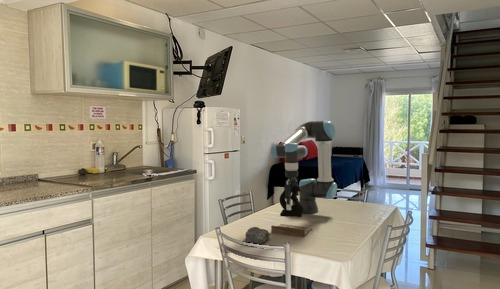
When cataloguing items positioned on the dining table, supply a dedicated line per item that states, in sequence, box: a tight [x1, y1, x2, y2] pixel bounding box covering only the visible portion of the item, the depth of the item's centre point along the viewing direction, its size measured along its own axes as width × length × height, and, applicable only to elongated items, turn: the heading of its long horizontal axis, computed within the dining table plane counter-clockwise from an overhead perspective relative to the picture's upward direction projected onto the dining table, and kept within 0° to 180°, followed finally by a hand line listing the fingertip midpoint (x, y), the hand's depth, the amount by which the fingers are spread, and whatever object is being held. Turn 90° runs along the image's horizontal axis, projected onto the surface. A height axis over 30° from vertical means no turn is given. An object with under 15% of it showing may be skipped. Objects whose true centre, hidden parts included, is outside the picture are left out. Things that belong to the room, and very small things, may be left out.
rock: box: [245, 226, 271, 245], centre depth 201 cm, size 13×6×15 cm
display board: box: [270, 223, 313, 238], centre depth 216 cm, size 15×20×4 cm
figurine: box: [279, 183, 304, 218], centre depth 215 cm, size 14×9×20 cm, turn 76°
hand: (291, 208), depth 216 cm, fingers closed on figurine, 9 cm apart
